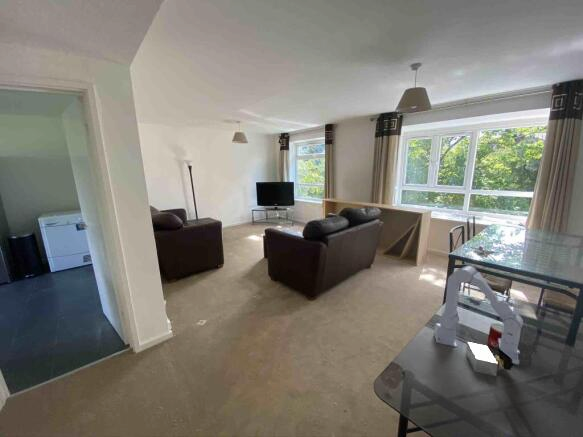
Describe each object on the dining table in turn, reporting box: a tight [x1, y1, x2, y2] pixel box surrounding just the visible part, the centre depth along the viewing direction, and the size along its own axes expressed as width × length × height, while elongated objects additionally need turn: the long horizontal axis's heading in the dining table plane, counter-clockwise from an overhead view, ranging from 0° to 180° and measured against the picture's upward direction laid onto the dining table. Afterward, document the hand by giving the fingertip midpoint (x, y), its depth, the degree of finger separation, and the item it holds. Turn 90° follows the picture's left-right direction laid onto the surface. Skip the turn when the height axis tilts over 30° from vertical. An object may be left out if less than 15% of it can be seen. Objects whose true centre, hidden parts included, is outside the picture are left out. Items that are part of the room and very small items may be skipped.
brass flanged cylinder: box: [493, 354, 504, 370], centre depth 110 cm, size 10×6×6 cm, turn 69°
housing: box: [465, 341, 498, 377], centre depth 112 cm, size 8×12×6 cm, turn 159°
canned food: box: [487, 322, 504, 351], centre depth 123 cm, size 8×8×11 cm
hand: (504, 366), depth 109 cm, fingers closed on brass flanged cylinder, 3 cm apart
